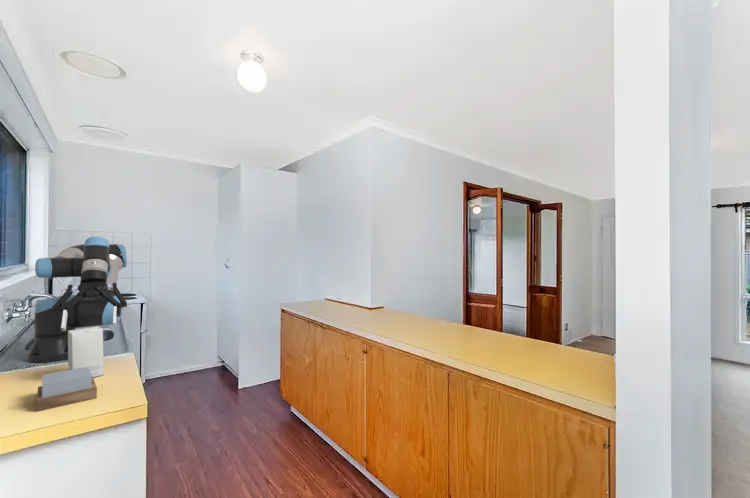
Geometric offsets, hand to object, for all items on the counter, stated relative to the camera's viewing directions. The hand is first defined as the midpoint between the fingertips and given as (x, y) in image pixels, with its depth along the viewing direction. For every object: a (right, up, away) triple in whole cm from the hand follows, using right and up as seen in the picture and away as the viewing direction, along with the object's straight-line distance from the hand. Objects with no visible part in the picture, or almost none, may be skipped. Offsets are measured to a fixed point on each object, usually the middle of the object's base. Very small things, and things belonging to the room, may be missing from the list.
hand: (89, 327), depth 119 cm
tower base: (+11, -16, -21) cm, 28 cm away
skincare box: (+2, -15, -5) cm, 16 cm away
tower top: (+11, -12, -21) cm, 27 cm away
